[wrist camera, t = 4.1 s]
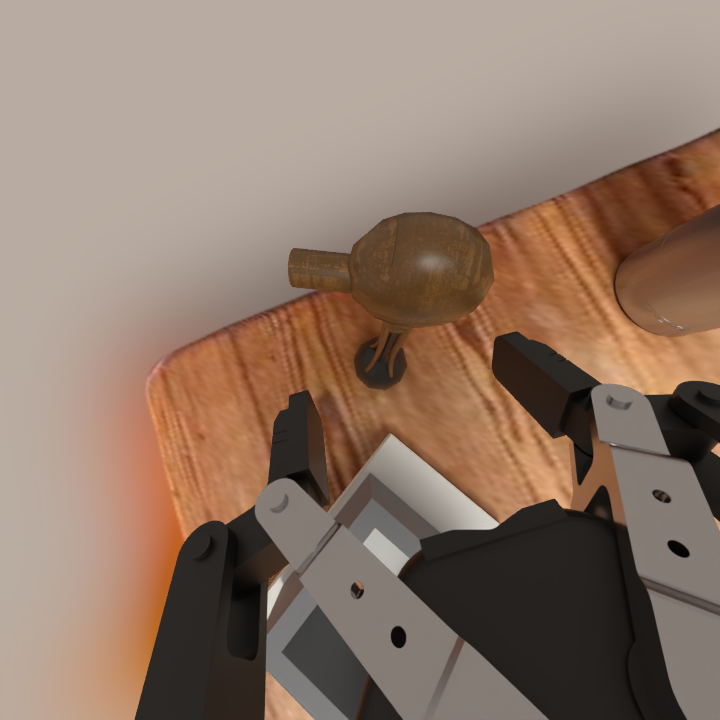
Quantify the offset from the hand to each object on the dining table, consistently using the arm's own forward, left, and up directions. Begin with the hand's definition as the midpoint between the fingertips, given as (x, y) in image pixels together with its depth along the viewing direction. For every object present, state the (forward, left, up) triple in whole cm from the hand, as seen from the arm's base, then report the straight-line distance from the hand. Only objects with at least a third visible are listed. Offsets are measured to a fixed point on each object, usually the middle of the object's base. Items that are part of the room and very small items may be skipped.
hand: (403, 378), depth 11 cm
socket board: (+11, +9, -14) cm, 20 cm away
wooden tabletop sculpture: (-2, -2, -14) cm, 14 cm away
